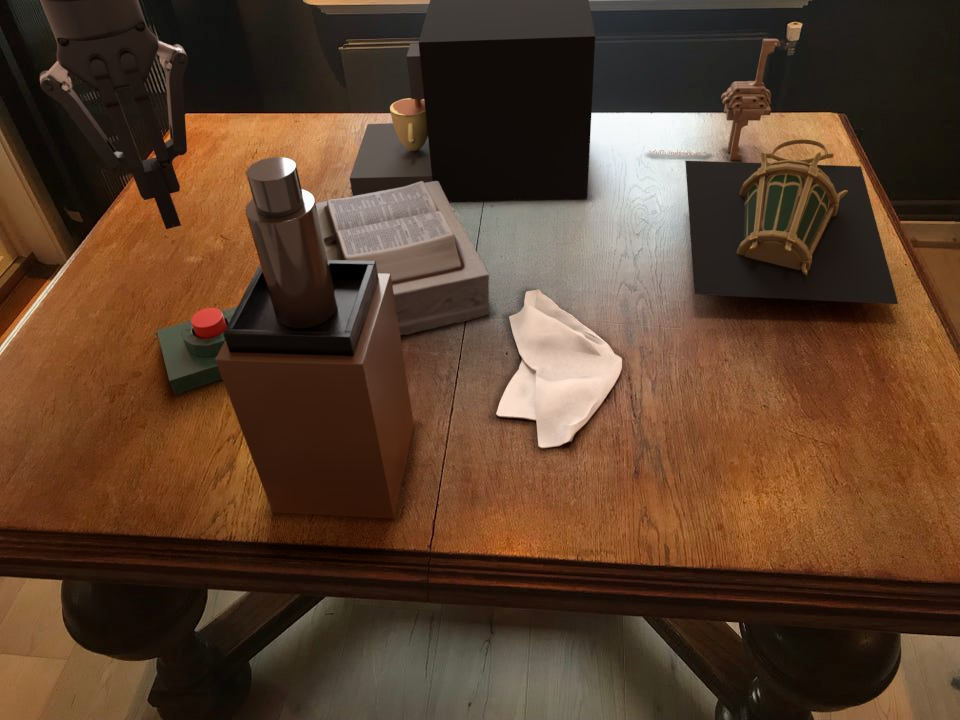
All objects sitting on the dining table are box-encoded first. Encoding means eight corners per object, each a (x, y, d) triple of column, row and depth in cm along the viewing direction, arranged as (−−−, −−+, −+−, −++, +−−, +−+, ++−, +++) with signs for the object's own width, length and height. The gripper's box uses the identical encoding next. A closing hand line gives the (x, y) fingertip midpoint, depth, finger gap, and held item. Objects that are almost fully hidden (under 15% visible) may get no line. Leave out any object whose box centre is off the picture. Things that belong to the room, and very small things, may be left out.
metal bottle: (284, 336, 62) (243, 193, 54) (268, 301, 66) (228, 162, 57) (345, 316, 64) (315, 175, 55) (327, 283, 67) (296, 145, 59)
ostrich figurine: (754, 145, 124) (778, 31, 112) (761, 166, 119) (786, 48, 107) (647, 144, 126) (659, 32, 114) (650, 165, 121) (663, 49, 109)
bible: (300, 354, 92) (281, 287, 85) (311, 230, 112) (297, 169, 105) (494, 333, 93) (491, 266, 86) (471, 215, 113) (468, 153, 106)
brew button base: (175, 394, 88) (163, 369, 85) (162, 343, 94) (151, 318, 92) (278, 361, 91) (270, 335, 88) (259, 314, 98) (251, 289, 95)
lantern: (679, 329, 98) (674, 160, 113) (863, 348, 97) (832, 176, 113) (709, 261, 86) (698, 84, 102) (919, 282, 85) (876, 101, 101)
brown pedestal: (272, 512, 75) (207, 340, 60) (304, 421, 84) (255, 252, 69) (394, 519, 73) (358, 345, 59) (414, 426, 82) (387, 254, 67)
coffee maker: (371, 148, 130) (348, 0, 114) (580, 142, 128) (586, -9, 112) (354, 203, 117) (325, 45, 101) (587, 199, 115) (595, 36, 99)
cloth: (621, 454, 78) (623, 439, 76) (486, 444, 80) (485, 429, 78) (622, 296, 97) (623, 282, 95) (513, 292, 99) (512, 277, 97)
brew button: (198, 342, 89) (193, 331, 87) (192, 325, 91) (188, 313, 90) (229, 333, 90) (225, 321, 88) (223, 315, 92) (219, 304, 91)
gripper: (156, -45, 69) (227, 189, 85) (-3, -19, 65) (103, 221, 81) (168, -24, 64) (241, 221, 80) (-3, 6, 60) (110, 257, 76)
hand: (171, 221), depth 80 cm, fingers closed
